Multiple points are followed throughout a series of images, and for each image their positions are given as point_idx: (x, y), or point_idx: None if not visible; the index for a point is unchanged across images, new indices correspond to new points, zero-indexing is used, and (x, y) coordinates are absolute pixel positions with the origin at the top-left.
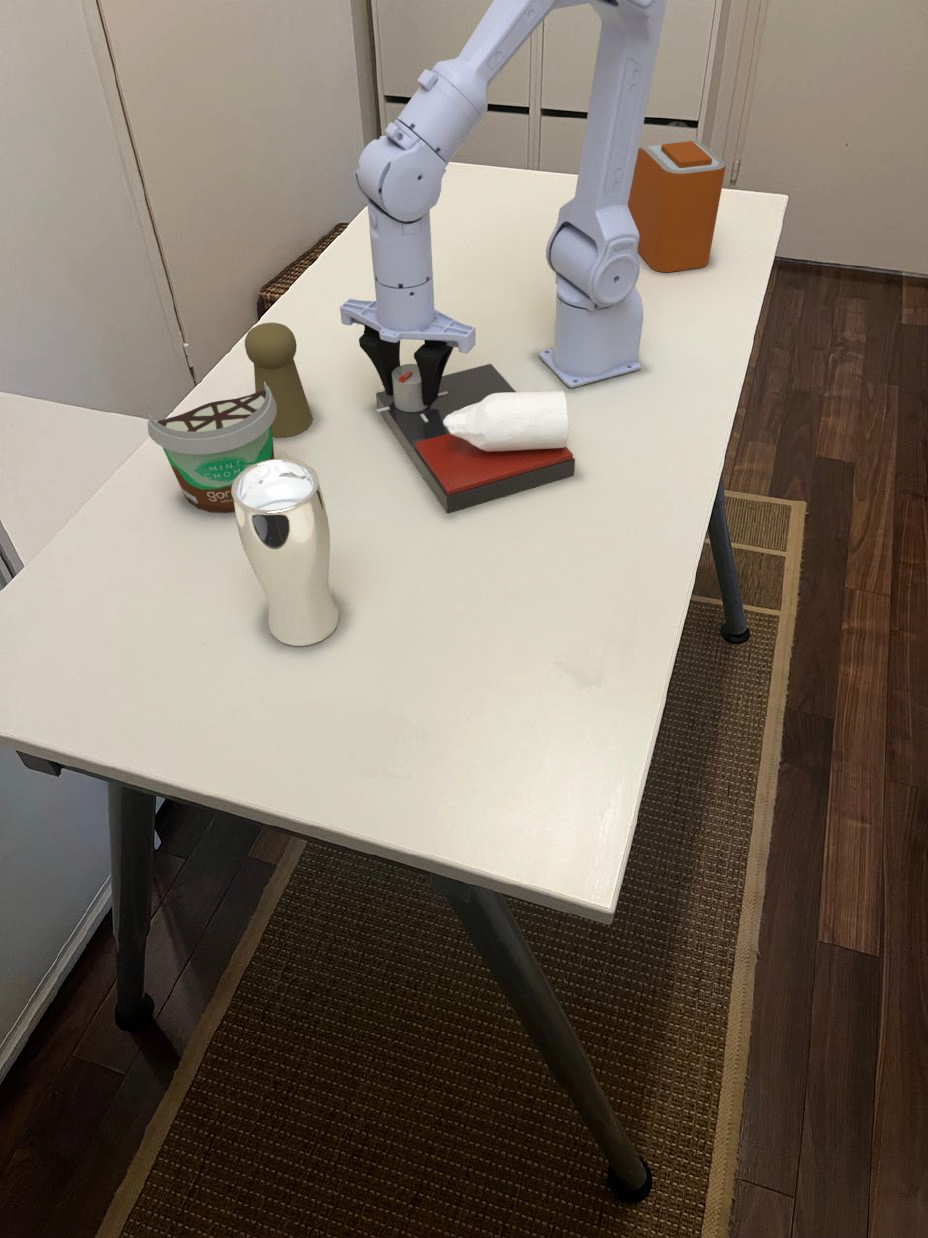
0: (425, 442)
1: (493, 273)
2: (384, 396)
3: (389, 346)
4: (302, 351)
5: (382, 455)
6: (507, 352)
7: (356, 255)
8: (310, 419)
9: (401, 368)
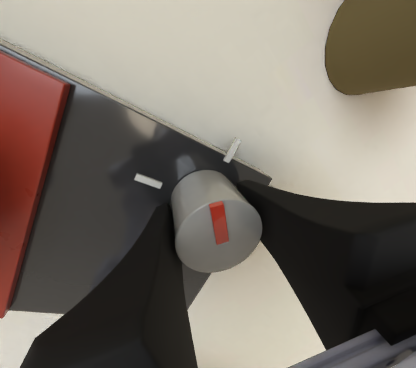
0: (44, 103)
1: (284, 364)
2: (254, 181)
3: (309, 270)
4: (395, 192)
5: (162, 66)
6: (198, 330)
7: None
8: (333, 66)
9: (250, 237)
